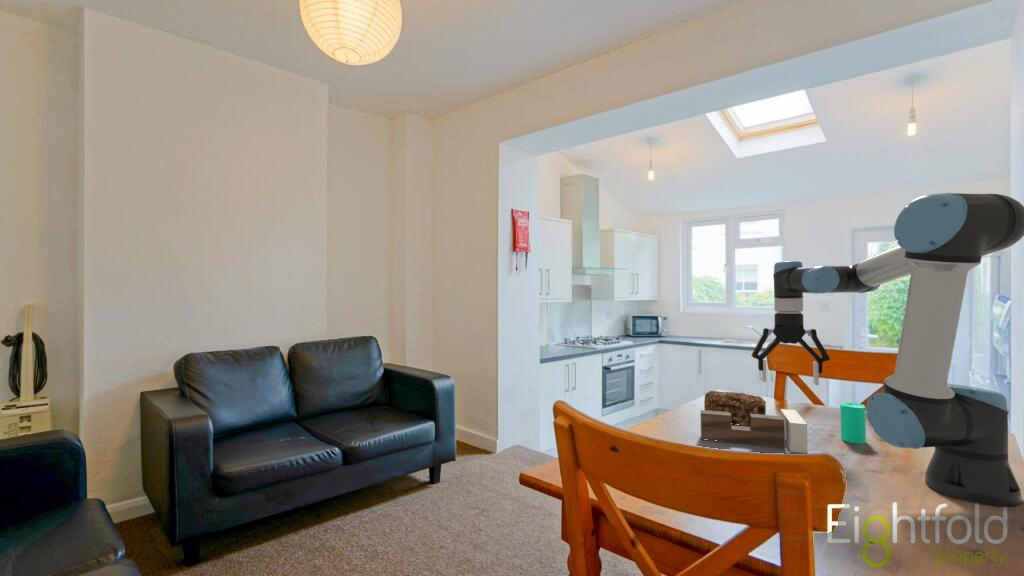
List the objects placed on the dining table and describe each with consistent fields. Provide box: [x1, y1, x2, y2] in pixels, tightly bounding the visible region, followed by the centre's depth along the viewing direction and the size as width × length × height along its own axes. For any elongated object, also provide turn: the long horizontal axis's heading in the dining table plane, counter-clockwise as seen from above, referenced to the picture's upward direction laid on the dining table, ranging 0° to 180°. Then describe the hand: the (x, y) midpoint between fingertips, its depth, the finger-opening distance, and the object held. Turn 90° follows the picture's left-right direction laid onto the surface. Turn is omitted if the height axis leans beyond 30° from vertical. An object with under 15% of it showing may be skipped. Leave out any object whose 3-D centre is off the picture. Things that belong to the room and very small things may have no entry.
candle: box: [839, 399, 867, 445], centre depth 139 cm, size 6×6×12 cm
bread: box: [703, 390, 767, 427], centre depth 160 cm, size 19×11×10 cm, turn 61°
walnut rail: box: [700, 409, 786, 449], centre depth 139 cm, size 4×22×8 cm, turn 69°
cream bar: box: [779, 408, 809, 454], centre depth 137 cm, size 16×4×8 cm, turn 159°
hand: (789, 382), depth 142 cm, fingers open, 13 cm apart
